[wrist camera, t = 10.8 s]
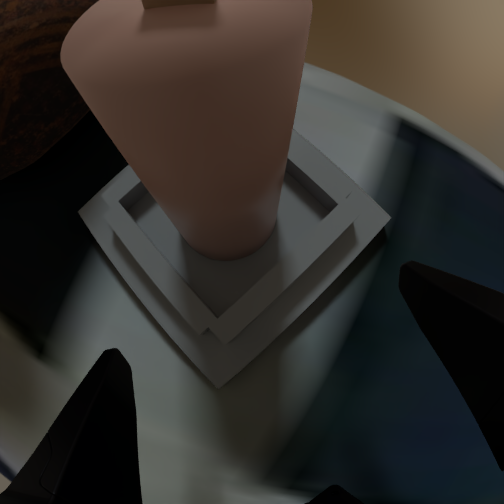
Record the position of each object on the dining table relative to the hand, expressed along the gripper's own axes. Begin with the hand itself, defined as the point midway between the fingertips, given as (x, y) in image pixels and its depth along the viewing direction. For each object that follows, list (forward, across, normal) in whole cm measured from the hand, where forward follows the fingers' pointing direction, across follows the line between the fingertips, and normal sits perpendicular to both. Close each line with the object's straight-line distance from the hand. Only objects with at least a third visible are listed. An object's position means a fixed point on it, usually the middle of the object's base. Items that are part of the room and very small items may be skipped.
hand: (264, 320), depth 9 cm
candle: (+10, 0, +1) cm, 10 cm away
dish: (+11, 0, +1) cm, 11 cm away
